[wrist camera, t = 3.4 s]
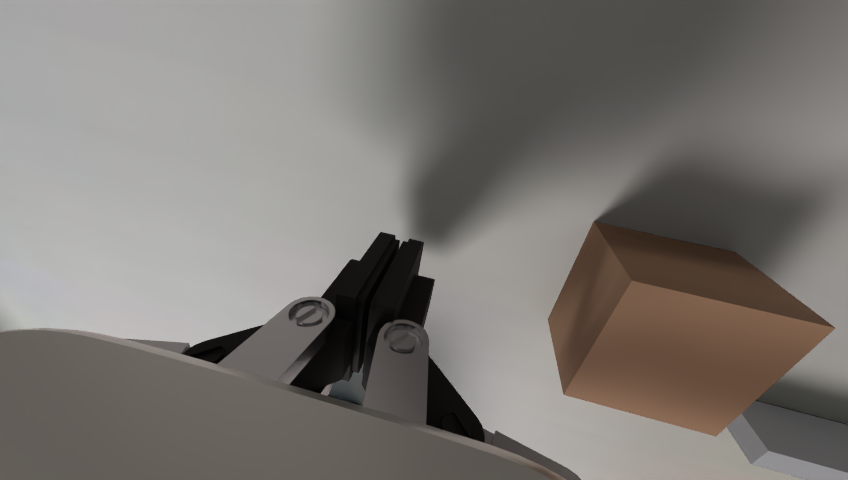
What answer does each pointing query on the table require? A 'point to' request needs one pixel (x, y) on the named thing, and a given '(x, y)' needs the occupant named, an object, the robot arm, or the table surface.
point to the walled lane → (792, 442)
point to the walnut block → (674, 329)
